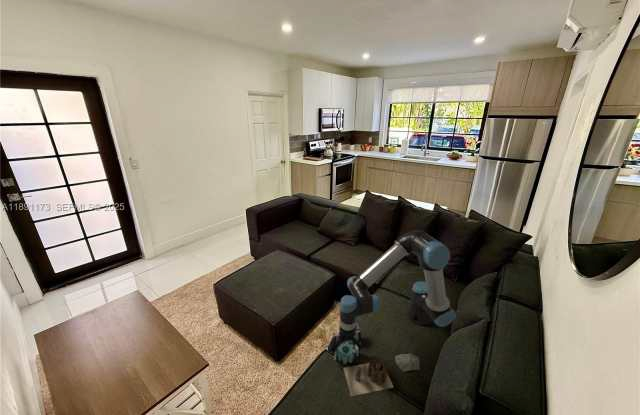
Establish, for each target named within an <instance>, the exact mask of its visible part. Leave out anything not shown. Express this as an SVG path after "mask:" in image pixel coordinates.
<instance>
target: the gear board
mask: <svg viewBox="0 0 640 415" xmlns="http://www.w3.org/2000/svg"><path fill="white" fill-rule="evenodd" d="M368 365H369V362H368V363H367V362H366V363H363V364H362V363H361V364H357V365H352V366H346V367H343V368H342V369H343V372H344V375H345V379H346V383H347V387H348V389H349V392H350V396H351V397H354V396H359V395H365V394H369V393H373V392H378V391H382V390H388V389H392V388H394V385H393V382H392V381H391V378H390V375H389V374H388V373H389V372H388V373H387V379H386V382H385V383H383V382H381V385H377V382H375V381H374V383H372V382H371V381H370V378H371V377H368ZM375 370H378V371H380V370H381V364H380V363H376V367H375Z"/></svg>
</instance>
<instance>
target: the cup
mask: <svg viewBox="0 0 640 415" xmlns="http://www.w3.org/2000/svg"><path fill="white" fill-rule="evenodd" d="M358 329H359V330H360V326H359V324H358V323H357V322H355V331H357V330H358ZM354 337H355V338H356V340H357V341H358V342H359V337H358V336H357V335H356V334H355V336H354ZM346 342H349V343H348V344H349V345H351V344H355V343H354V342H352V340H350V341H346Z"/></svg>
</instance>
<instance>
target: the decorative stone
mask: <svg viewBox="0 0 640 415" xmlns="http://www.w3.org/2000/svg"><path fill="white" fill-rule="evenodd" d="M394 359H395V360H394V361H395V363H396V365H397V367H398V369H400V371H402V372H404V373H406V372H408V371H409V372H410V371H420V370H421V369H420V365H421V364H420V363H421V361H420V360H421V359H420V357H419V356H417V355H415V354H411V353H402V354H397V355H395V357H394Z"/></svg>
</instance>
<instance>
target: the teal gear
mask: <svg viewBox="0 0 640 415" xmlns="http://www.w3.org/2000/svg"><path fill="white" fill-rule="evenodd" d="M355 356H356V353H355V346H354V345H353V343H350V344H349V342H347V341H344V342H343V343H341V345H340V346H339V347H338V348H337V350H336V357H337V360H338V361H339V362H341V361H342V363H343V364H345V365H347V363H349V364H351V363H353V360H354V359H355Z"/></svg>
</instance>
